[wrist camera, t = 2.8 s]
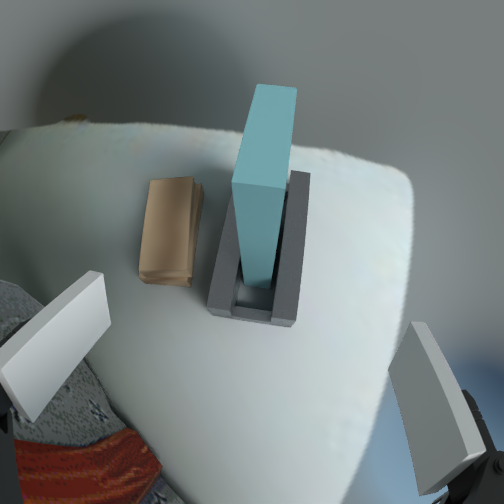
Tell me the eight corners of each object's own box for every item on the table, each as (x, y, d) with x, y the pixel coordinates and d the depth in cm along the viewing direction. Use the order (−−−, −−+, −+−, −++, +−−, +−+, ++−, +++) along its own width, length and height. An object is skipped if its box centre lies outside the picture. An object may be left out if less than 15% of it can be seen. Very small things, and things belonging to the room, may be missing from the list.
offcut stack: (145, 284, 30) (130, 270, 25) (163, 194, 34) (152, 172, 30) (195, 287, 29) (186, 273, 25) (207, 194, 34) (202, 171, 29)
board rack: (212, 315, 28) (206, 306, 24) (240, 185, 34) (238, 163, 30) (290, 327, 27) (295, 320, 24) (305, 194, 33) (310, 173, 29)
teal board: (244, 285, 29) (231, 181, 13) (256, 214, 32) (257, 83, 16) (269, 288, 29) (285, 188, 13) (279, 217, 32) (296, 88, 16)
